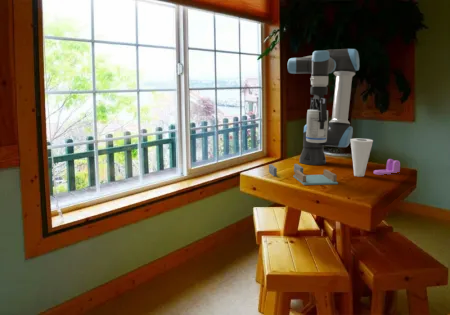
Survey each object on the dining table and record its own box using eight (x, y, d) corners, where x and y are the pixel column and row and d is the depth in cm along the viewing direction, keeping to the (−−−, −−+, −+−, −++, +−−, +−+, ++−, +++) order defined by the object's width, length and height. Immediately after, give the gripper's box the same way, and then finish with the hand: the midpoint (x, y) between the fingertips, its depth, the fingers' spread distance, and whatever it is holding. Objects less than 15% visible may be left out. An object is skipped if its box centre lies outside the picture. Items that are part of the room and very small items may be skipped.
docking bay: (324, 176, 194) (325, 168, 194) (337, 184, 179) (338, 176, 178) (293, 176, 192) (293, 169, 191) (304, 185, 177) (304, 176, 176)
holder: (296, 171, 205) (297, 163, 204) (303, 175, 195) (303, 167, 194) (268, 171, 203) (269, 164, 202) (273, 176, 193) (273, 168, 192)
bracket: (391, 171, 207) (392, 158, 206) (399, 173, 202) (400, 160, 201) (371, 173, 203) (372, 159, 202) (378, 175, 198) (379, 161, 197)
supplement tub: (306, 140, 188) (308, 109, 185) (327, 140, 185) (328, 109, 183) (304, 142, 179) (306, 110, 176) (326, 143, 176) (327, 110, 174)
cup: (359, 178, 190) (362, 141, 186) (343, 174, 199) (345, 139, 195) (375, 176, 194) (377, 140, 191) (358, 172, 204) (361, 138, 200)
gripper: (303, 85, 188) (301, 132, 192) (320, 85, 166) (317, 138, 170) (318, 86, 189) (316, 132, 193) (336, 86, 167) (333, 138, 171)
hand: (316, 134), depth 182 cm, fingers closed on supplement tub, 10 cm apart
